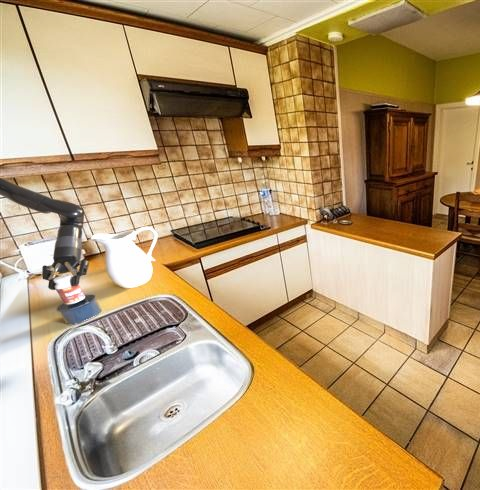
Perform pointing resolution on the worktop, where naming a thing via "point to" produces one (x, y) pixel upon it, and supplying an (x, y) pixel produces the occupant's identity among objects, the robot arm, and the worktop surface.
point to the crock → (80, 310)
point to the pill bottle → (68, 290)
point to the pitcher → (126, 258)
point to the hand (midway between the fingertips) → (63, 287)
